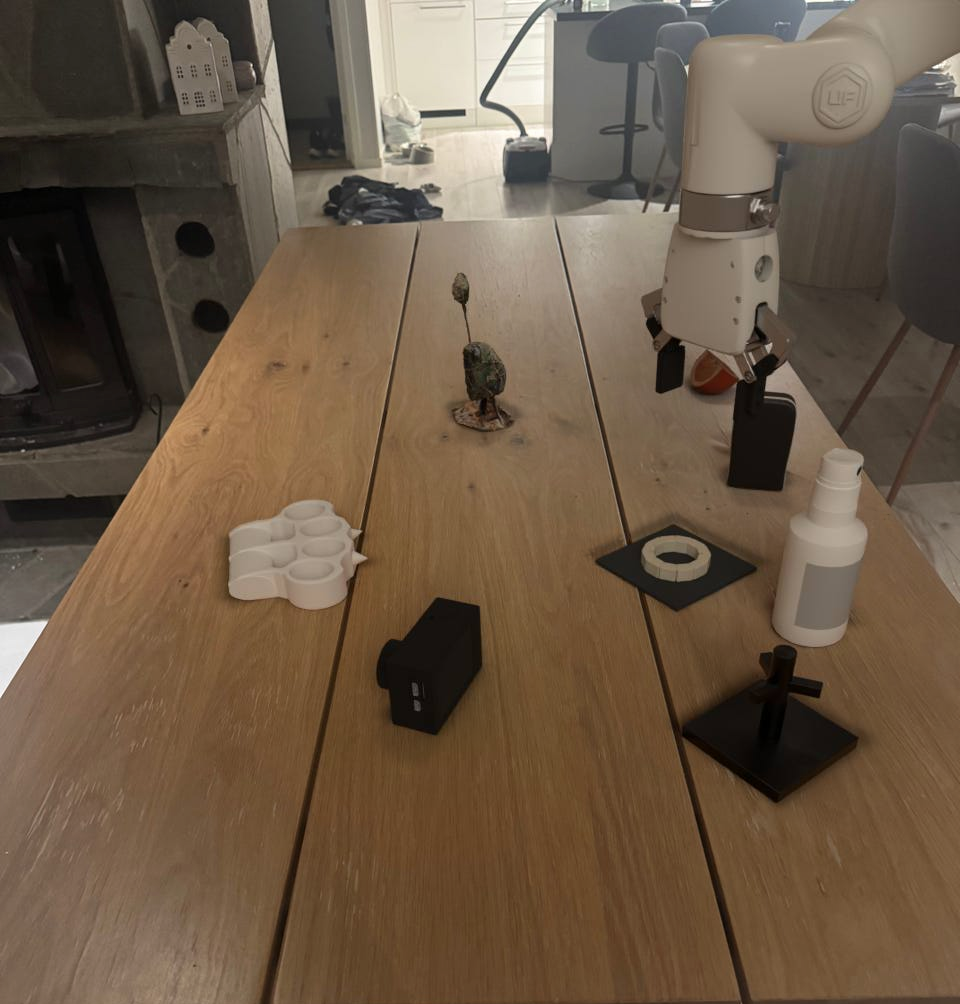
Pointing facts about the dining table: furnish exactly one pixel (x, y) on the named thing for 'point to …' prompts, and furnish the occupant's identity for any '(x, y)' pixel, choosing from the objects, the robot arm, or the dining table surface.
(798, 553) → the spray bottle
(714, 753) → the rack
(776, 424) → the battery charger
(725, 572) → the mat
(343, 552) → the white brass knuckles
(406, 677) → the digital camera
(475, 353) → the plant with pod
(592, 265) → the dining table surface
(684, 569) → the ring
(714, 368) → the fruit slice
